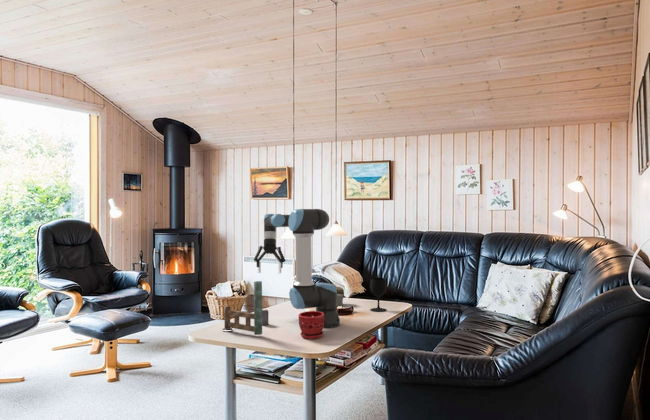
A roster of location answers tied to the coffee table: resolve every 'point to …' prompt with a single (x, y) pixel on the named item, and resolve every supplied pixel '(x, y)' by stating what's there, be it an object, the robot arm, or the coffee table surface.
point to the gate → (247, 314)
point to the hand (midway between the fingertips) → (269, 273)
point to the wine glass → (378, 291)
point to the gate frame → (264, 319)
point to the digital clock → (339, 300)
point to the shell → (340, 291)
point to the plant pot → (311, 324)
